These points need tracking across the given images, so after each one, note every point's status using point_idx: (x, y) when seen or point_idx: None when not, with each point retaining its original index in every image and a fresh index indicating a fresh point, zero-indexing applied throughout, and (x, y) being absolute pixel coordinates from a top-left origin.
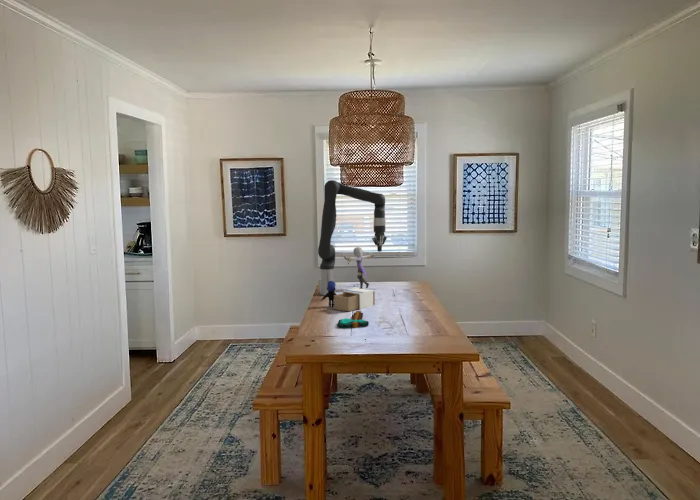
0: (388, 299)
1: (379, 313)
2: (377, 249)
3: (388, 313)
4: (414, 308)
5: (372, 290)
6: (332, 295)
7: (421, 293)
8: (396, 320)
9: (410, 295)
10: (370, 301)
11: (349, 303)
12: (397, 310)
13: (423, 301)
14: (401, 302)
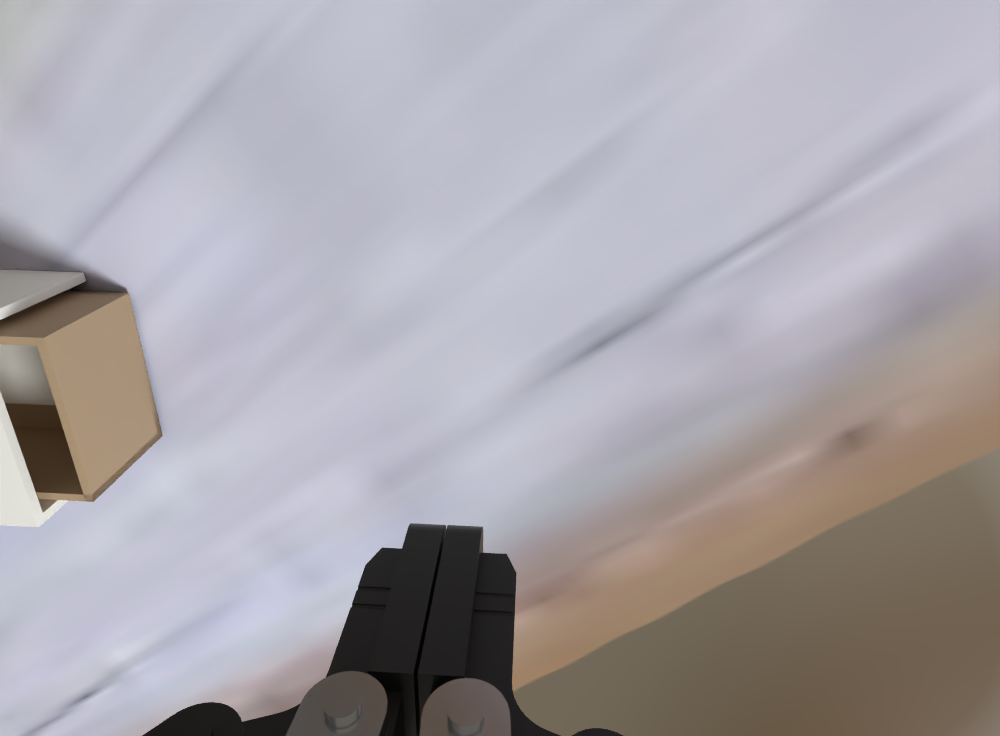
0: (410, 401)
1: (24, 585)
2: (361, 578)
3: (71, 621)
4: (295, 667)
5: (32, 526)
6: None
7: (812, 484)
8: (2, 715)
9: (676, 456)
10: None
11: None
12: (172, 623)
13: (518, 624)
14: (385, 532)
